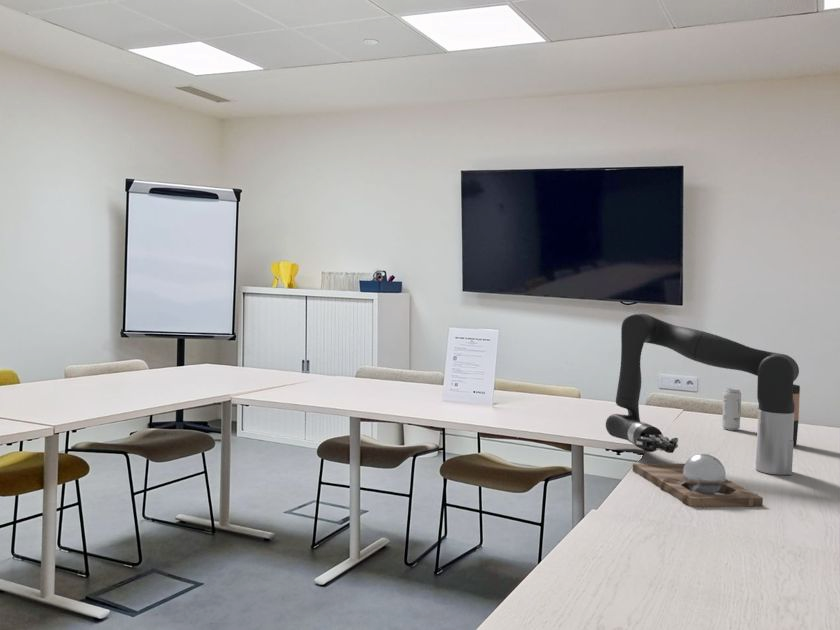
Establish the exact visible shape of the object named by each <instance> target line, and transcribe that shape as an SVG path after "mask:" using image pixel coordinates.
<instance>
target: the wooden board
mask: <svg viewBox="0 0 840 630" xmlns="http://www.w3.org/2000/svg"><path fill="white" fill-rule="evenodd" d="M684 465H685V463H632V471H633V472H634V473H635V474H637V475H639V476H640V477H642V478H644V479H646V480H647V481H649V482H650V483H652V484H654V485H655V486H656V487H659V489H660V490H661V491H662V490H663V491H665V492H667V494H670V495H672V496H673V497H675V498H676V499H678V500H679V501H681V502H682V504H685V505H687V506H689V507H691V508H693V507H694V508H695V507H697V508H698V507H701V508H705V507H750V508H751V507H752V508H753V507H763V502H764V498H763V497H762V496H761V495H759V494H758V493H754V492H752V491H750V490H748V489H746V488H744V487H742V486H740V485H738V484H736V483H734V482H733V481H732V480H728V479H727V478H725V482H724V485H723V486H722V488H721V489H720V490H719V491H718V492H719V493H720V494H717V493H716V494H715V493H713V494H706V493H701V492H695V491H692V490H691V489H690V488H689V487H688V486H687V484H686V483H685V481H684V478H683V468H684ZM721 493H722V494H721ZM723 493H725V494H723Z"/></svg>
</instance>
